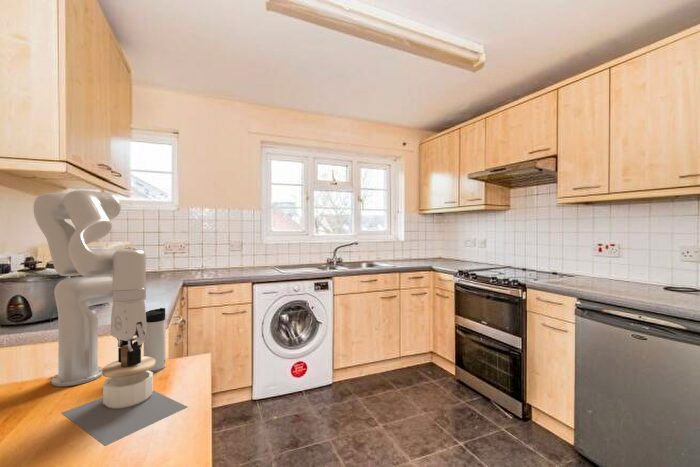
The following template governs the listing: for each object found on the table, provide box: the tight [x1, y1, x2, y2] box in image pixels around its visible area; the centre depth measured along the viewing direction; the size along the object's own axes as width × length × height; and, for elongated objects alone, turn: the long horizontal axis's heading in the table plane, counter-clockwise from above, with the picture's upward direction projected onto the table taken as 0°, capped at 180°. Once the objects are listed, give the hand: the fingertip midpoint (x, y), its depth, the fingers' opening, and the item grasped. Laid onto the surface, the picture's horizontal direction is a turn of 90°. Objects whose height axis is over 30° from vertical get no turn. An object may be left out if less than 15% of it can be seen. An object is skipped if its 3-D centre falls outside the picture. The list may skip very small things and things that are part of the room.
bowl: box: [102, 370, 154, 409], centre depth 90 cm, size 11×11×6 cm
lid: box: [101, 345, 155, 378], centre depth 90 cm, size 12×12×6 cm
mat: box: [61, 389, 188, 447], centre depth 85 cm, size 24×19×1 cm
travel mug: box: [143, 307, 167, 373], centre depth 110 cm, size 6×7×20 cm
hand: (129, 362), depth 90 cm, fingers closed on lid, 4 cm apart
